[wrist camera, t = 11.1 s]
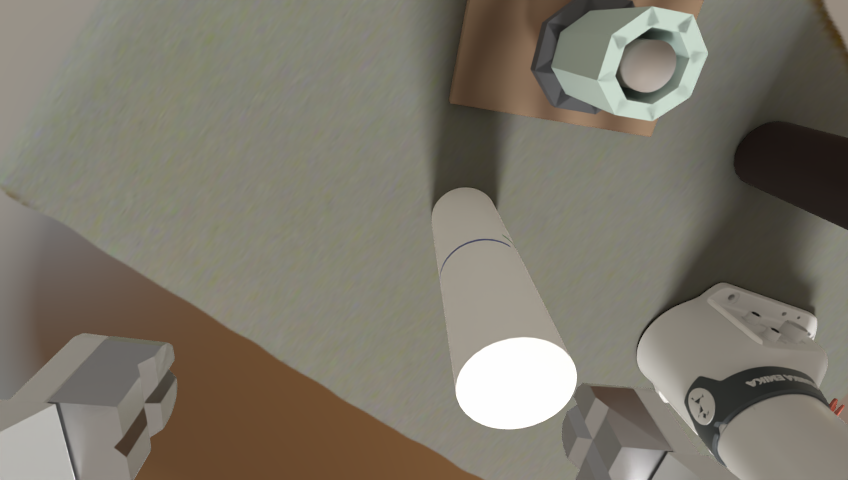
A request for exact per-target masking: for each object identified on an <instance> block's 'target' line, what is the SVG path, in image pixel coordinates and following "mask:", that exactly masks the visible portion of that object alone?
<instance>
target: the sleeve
mask: <svg viewBox="0 0 848 480" xmlns="http://www.w3.org/2000/svg"><path fill="white" fill-rule="evenodd" d="M634 39H650V40H662V41H665V42H667V43H669V44H670V45H671V46H672V48H673V49H674V51H675V54H676V67H675V70H674V73H673V75H672V77H671V78H670V80H669V81H668V82H667V83H666V84H665V85H664V86H663V87H661V88H660V89H658V90H656V91H653V92H640V91H636V90H633V89H629V88H626V87H622V86H620V85H619V83H618V81H617V79H616V77H615V75H616V72H617V69H618V66H619V63H620V60H621V57H622V54H623V51H624V48H625V45H627V44H628V43H630V42H631V41H632V40H634ZM707 55H708V52H707V49H706V47H705V44H704V42H703V39H702V36H701V34H700V31H699V28H698V26H697V23H696V21H695V18H694V15H693V14H688V13H683V12H678V11H673V10H668V9H663V8H658V7H653V6H649V7H635V8H621V9H607V10H593V11H589V12H588V13H586V14H585V15H584V16H582V17H581V18H579V19H578V20H577V21H575V22H574V23H573V24H571V25H570V26H568V27H567V28H566V29H564V30H563V31H562V32H560V36H559V40H558V43H557V47H556V51H555V54H554V58H553V62H552V65H551V68H552V70H553V71H554V73H555V75H556V77H557V79H558V81H559V82H560V84H561V86H562V88H563V90H564V92H565V94H567V95H569V96H572V97H574V98H576V99H579V100H581V101H583V102H586V103H588V104H590V105H593V106H595V107H597V108H600V109H602V110H604V111H607V112H609V113H611V114H614V115H618V116H624V117H630V118H636V119H642V120H647V121H654V120H655V119H657V118H658V117H660V116H661V115H663V114H665V113H666V112H668V111H669V110H671V109H672V108H674V107H675V106H677V105H679V104H680V103H682V102H683V101H685V100H686V99H688V98H689V97H690V96H691V94H692V91H693V89H694V87H695V84H696V82H697V79H698V77H699V74H700V72H701V69H702V67H703V65H704V62H705V60H706V57H707Z"/></svg>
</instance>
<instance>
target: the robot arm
mask: <svg viewBox="0 0 848 480" xmlns="http://www.w3.org/2000/svg"><path fill="white" fill-rule="evenodd" d="M816 330H817V318H816V317H815V316H814V315H813V314H812V313H810V312H808V311H805V310H802V309H800V308H797V307H794V306H791V305H788V304H785V303H782V302H780V301H777V300H774V299H771V298H768V297H765V296H762V295H759V294H757V293H754V292H751V291H748V290H745V289H742V288H739V287H736V286H734V285H731V284H728V283H719V284H717V285H715V286H713V287H711V288H710V289H709V290H707V291H706V292H704V293H703V294H702V295H701V296H699V297H697V298H695V299H693V300H690V301H687V302H685V303H682V304H680V305H677V306H675V307H673V308H672V309H670V310H668V311H667V312H665V313H664V314H662V315H661V316H660V317H658V318H657V319H656V320H655V321H654V322H653V323H652V324H651V325H650V326H649V327H648V329H647V330H646V331H645V333H644V334H643V336H642V338H641V340H640V342H639V345H638V349H637V362H638V366H639V368H640V370H641V372H642V373H643V374H644V375H645V376H646V377H647V378H648V379H649V380H650V381H651V382H652V383H653V384H654V387H655V391H656V392H655V391H654V390H653V389H651V388H641V387H624V386H613V385H601V384H590V383H582V384H581V385H580V386H578V387H577V389H576V392H575V394H574V396H573V397H574V399H575V401H576V404H577V405H576V406H574V407H573V408H571V409H570V410H569V411H567V412H566V415H565V418H564V420H563V423H562V442H563V447H564V450H565V453H566V456H567V459H568V460H569V461H570V462H571V463H572V464H574V465H575V466H576V467H577V468H578V469H579V470H578V473H577V476H576V480H848V425H847V424H846V423H845V422H844V421H843V420H842V419H840V418H839V417H838V415H839V413H840V412H841V411H842V409H843V408H844V405H841V406H840V407H839V408H838V409H837V410H836V411H835V412H833V411H834V410H835V408H836V405H837V401H838V400H837V399H835V398H834V399H833V400H832V401H831V403H830V404H828V402H827V400H826V399H825V397H824V396H823V394H822V392H821V391H820V389H819V386H820V384H821V382H822V380H823V377H824V375H825V373H826V370H827V365H828V358H827V354H826V352H825V351H824V350H823V348H822V347H821V346H819V345H818V344H817V343H816V342H815V341H813V340H814V338H815V335H816ZM173 361H174V353H173V346H172V345H170V344H169V343H165V342H156V341H148V340H140V339H131V338H123V337H115V336H113V337H109V336H101V335H93V334H85V333H83V334H81V335H78V336H75V337H74V338H73V339H71V341H69V342H68V343H67V344H66V345H65V346H64V347H63V348H62V349H61V350H60V351H59V352H58V353H57V354H56V355H55V356H54V357H53V358H52V359H51V360H50V361H49V362H48V363H47V364H46V365H45V366H44V367H43V368H41V369H40V370H39V372H38V373H36V374H35V375H34V376H33V377H32V378H31V379H30V380H29V381H28V382H27V383H26V384H25V385H24V386H23V387H22V388H21V389H20V390H19V391H18V392H17V393H16V394H15V395H14V396H12V398H10V399H9V400H0V480H133V479H134V478H135V476H136V475H137V473H138V471H139V469H140V468H141V466H142V464H143V463H144V461H145V459H146V457H147V456H148V454H149V452H150V451H151V446H150V437H151V436H152V435H154V434H156V433H157V432H159V431H160V430H162V429H163V428H164V426H165V425H166V423H167V421H168V419H169V417H170V415H171V413H172V409H173V406H174V403H175V400H176V393H177V380H176V377H175V376H174V375H173V373H172V372H170V370H169V367H170V366H171V364H172V362H173ZM664 402H666V403H670V404H671V405H672V407H673V408H674V409H675V410H676V411H677V412H678V414H679V415H680V416H681V417H682V418H683V419H684V420H685V422H686V423H687V424H688V425H689V426H690V427H691V428H692V430H693V431H694V432H695V433H696V434H697V435H699V437H700V438H701V439H702V441H703V442H704V443H705V446H706V448H707V449H708V450H709V452H710V453H711V454H712V455H714V456H715V458H716V459H717V460H718V461H719V462H720V463H721V464H722V465H724V466H726V467H728V469H729V470H730V471H731V472H730V471H729V470H727V469H726V468H724V467H723V466H722V465H720V464H719V463H718V462H716V461H715V460H713V459H712V458H711V457H709V456H708V455H700V453H699V452H698V450H697V449H696V447H695V446H694V445H693V443H692V442H691V440H690V439H689V437H688V436H687V435H686V433H685V432H684V430H683V429H682V427H681V426H680V425H679V423H678V422H677V420H676V419H675V417H674V416H673V414H672V413H671V412H670V410H669V409H668V407H667V406H666V404H665V403H664Z"/></svg>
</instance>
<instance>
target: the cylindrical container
mask: <svg viewBox="0 0 848 480" xmlns="http://www.w3.org/2000/svg"><path fill="white" fill-rule="evenodd" d="M431 221H432V229H433V236H434V242H435V249H436V256H437V264H438V271H439V278H440V285H441V292H442V299H443V305H444V312H445V319H446V326H447V333H448V340H449V347H450V354H451V361H452V368H453V375H454V382H455V390H456V397H457V399H458V402H459V405H460V406H461V408H462V409H463V411H464V412H465V413H466V414H467V415H468V416H469V417H471V418H472V419H473V420H475V421H477V422H479V423H480V424H483V425H486V426H489V427H493V428H498V429H517V428H524V427H528V426H532V425H535V424H538V423H540V422H543V421H545V420H547V419H548V418H550V417H552V416H553V415H555V414H556V413H557V412H558V411H560V410H561V409H562V408H563V407H564V406H565V405H566V403H567V402H568V401H569V399H570V398H571V396H572V394H573V392H574V389H575V386H576V379H577V373H576V369H575V365H574V363H573V361H572V359H571V357H570V355H569V353H568V351H567V349H566V347H565V345H564V343H563V341H562V339H561V337H560V335H559V333H558V331H557V329H556V327H555V325H554V323H553V321H552V319H551V317H550V315H549V313H548V311H547V309H546V307H545V305H544V303H543V301H542V299H541V297H540V295H539V293H538V291H537V289H536V287H535V285H534V283H533V281H532V279H531V277H530V275H529V273H528V271H527V269H526V267H525V265H524V263H523V261H522V259H521V257H520V255H519V253H518V251H517V249H516V247H515V245H514V243H513V241H512V239H511V237H510V235H509V233H508V231H507V229H506V227H505V226H504V224H503V222H502V220H501V218H500V216H499V214H498V212H497V210H496V208H495V206H494V204H493V202H492V200H491V199H490V198H489V197H488V196H487V195H486V194H485V193H483V192H482V191H480V190H478V189H474V188H468V187H464V188H457V189H454V190H451V191H449V192H447V193H446V194H444V195H443V196H442V197H441V198H440V199H439V200H438V201H437V203H436V204H435V206H434V208H433V211H432V217H431Z"/></svg>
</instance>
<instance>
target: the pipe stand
mask: <svg viewBox="0 0 848 480" xmlns="http://www.w3.org/2000/svg"><path fill="white" fill-rule="evenodd" d="M571 1H572V0H467V4H466V10H465V15H464V20H463V26H462V31H461V37H460V42H459V48H458V53H457V58H456V64H455V69H454V75H453V80H452V86H451V91H450V96H449V101H450V103H451V104H457V105H463V106H469V107H475V108H481V109H487V110H493V111H499V112H505V113H511V114H517V115H523V116H529V117H535V118H541V119H547V120H553V121H559V122H565V123H571V124H577V125H583V126H589V127H595V128H601V129H607V130H612V131H618V132H624V133H630V134H636V135H642V136H648V137H651V135H652V133H653V130H654V128H655V125H656V122H657V120H658V118H657V119H655V120H654V121H647V120H642V119H636V118H630V117H624V116H618V115H614V114H611V113H609V112H607V111H604V110H601V111H600V112H598V113H597V114H591V113H585V112H579V111H573V110H567V109H561V108H555V107H554V106H552V105H550V103H549V101H548V100H547V98H546V96H545V94H544V92H543V91H542V89H541V87H540V85H539V84H538V82H537V80H536V78H535V77H534V75H533V73H532V71H531V69H530V68H531V65H532V61H533V57H534V53H535V49H536V45H537V41H538V37H539V33H540V29H541V25H542V22H544V21H545V20H546V19H548V18H549V17H550V16H552V15H553V14H554V13H556V12H557V11H558V10H560V9H561V8H562V7H564V6H565V5H567V4H568V3H569V2H571ZM631 1H633V3H634V5H635V7H649V6H653V7H658V8H663V9H668V10H673V11H678V12H683V13H688V14H693V15H694V18H695V21H696V19H697V17H698V14H699V12H700V9H701V6H702V4H703V1H704V0H631ZM675 67H676V54H675V51H674V49H673V48H672V46H671V45H670V44H669V43H667V42H665V41H662V40H650V39H634V40H632V41H631V42H630V43H628V44H627V45H625V48H624V51H623V54H622V57H621V60H620V63H619V66H618V69H617V72H616V75H615V77H616V79H617V81H618V83H619V85H620V86H622V87H626V88H629V89H633V90H636V91H640V92H653V91H656V90H658V89H660V88H661V87H663V86H664V85H665V84H666V83H667V82H668V81H669V80H670V78H671V77H672V75H673V73H674V70H675Z"/></svg>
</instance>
